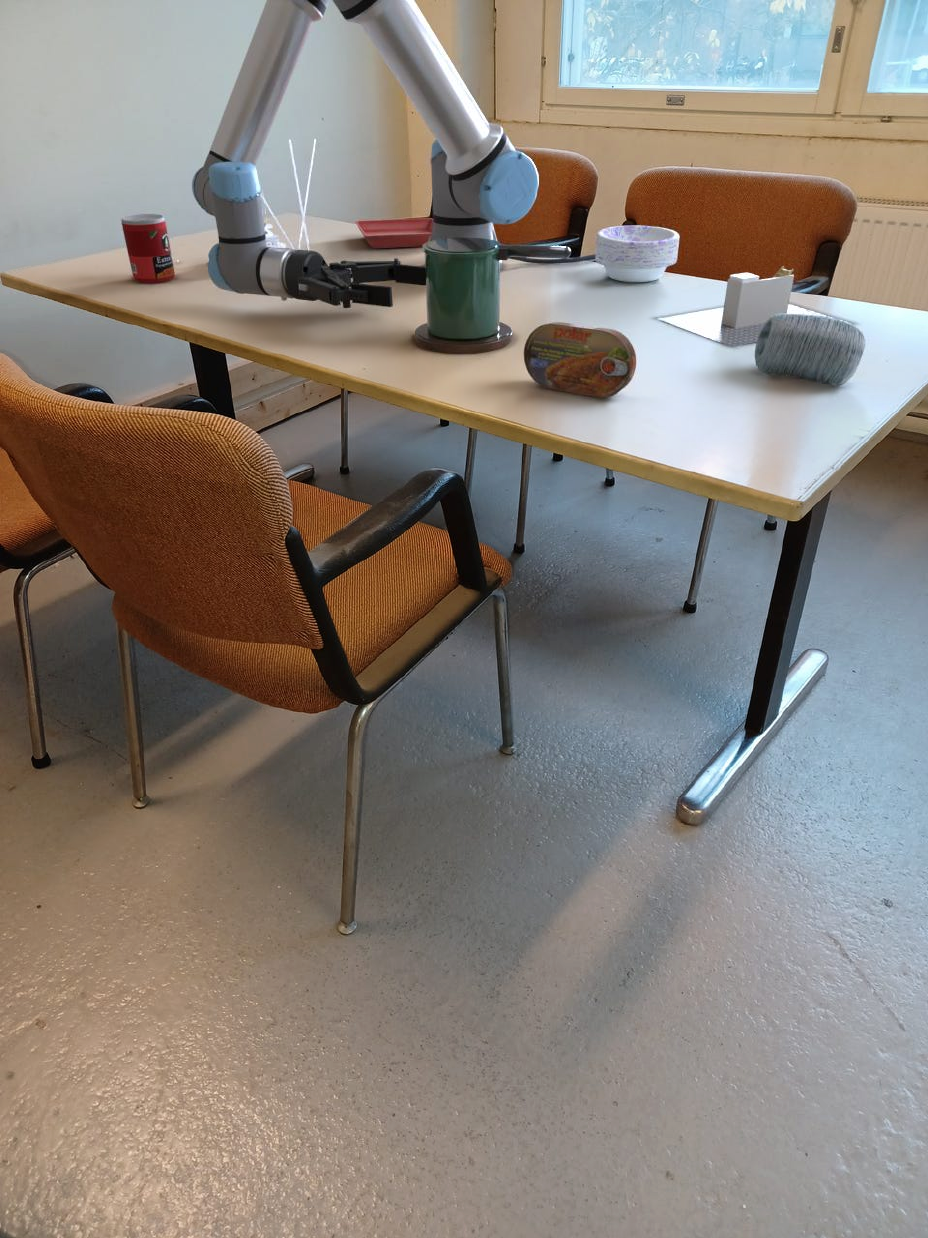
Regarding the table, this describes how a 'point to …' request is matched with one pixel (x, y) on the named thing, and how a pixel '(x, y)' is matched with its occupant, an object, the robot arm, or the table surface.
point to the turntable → (463, 341)
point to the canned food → (148, 248)
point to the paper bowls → (636, 252)
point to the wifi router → (273, 238)
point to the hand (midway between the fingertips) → (412, 286)
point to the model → (743, 309)
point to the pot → (470, 283)
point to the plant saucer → (396, 232)
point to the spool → (809, 348)
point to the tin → (580, 359)
